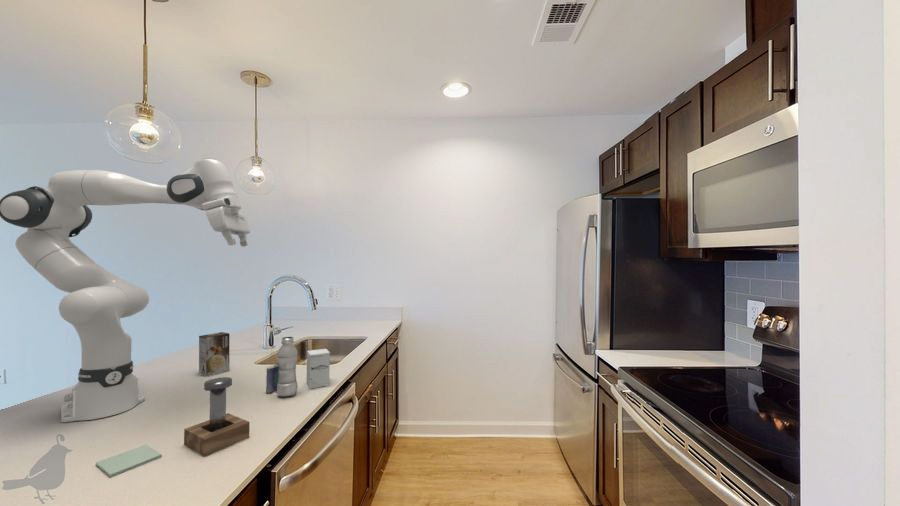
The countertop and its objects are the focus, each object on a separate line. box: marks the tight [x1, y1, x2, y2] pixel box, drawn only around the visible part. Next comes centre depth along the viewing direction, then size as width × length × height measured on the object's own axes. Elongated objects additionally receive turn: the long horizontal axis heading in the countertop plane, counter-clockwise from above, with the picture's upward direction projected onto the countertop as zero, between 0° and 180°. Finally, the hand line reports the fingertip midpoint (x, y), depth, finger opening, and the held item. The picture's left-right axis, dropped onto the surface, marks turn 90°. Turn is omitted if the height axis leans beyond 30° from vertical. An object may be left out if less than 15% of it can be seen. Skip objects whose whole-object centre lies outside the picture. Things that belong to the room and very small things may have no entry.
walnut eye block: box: [183, 412, 251, 457], centre depth 89 cm, size 10×10×4 cm
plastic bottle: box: [276, 336, 299, 398], centre depth 119 cm, size 6×7×20 cm
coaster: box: [95, 443, 162, 478], centre depth 80 cm, size 9×9×1 cm
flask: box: [265, 359, 279, 394], centre depth 125 cm, size 9×3×11 cm, turn 151°
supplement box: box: [306, 348, 331, 390], centre depth 130 cm, size 7×7×13 cm
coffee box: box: [198, 331, 230, 377], centre depth 144 cm, size 9×6×16 cm
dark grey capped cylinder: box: [203, 376, 233, 432], centre depth 89 cm, size 6×6×15 cm
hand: (238, 245), depth 115 cm, fingers open, 8 cm apart
